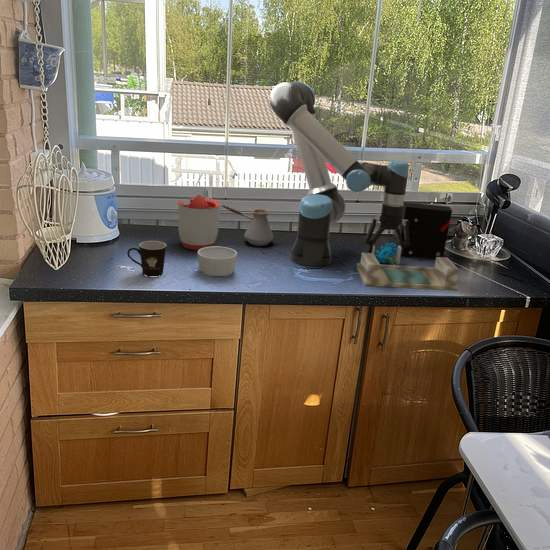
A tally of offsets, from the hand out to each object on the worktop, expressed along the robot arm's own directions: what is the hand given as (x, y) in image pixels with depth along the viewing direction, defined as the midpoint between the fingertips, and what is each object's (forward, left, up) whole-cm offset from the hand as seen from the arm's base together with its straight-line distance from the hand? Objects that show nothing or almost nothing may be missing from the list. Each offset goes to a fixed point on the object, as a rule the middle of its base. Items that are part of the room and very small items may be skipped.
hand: (384, 262), depth 214 cm
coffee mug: (-84, -23, 0) cm, 87 cm away
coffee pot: (-52, +15, 0) cm, 54 cm away
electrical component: (+17, +12, 0) cm, 21 cm away
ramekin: (-62, -18, -1) cm, 65 cm away
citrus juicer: (-71, +8, 0) cm, 72 cm away
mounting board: (+4, -16, 0) cm, 16 cm away
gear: (0, 0, -1) cm, 1 cm away
